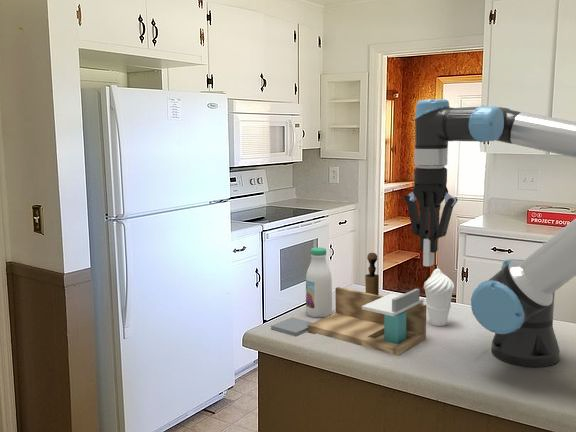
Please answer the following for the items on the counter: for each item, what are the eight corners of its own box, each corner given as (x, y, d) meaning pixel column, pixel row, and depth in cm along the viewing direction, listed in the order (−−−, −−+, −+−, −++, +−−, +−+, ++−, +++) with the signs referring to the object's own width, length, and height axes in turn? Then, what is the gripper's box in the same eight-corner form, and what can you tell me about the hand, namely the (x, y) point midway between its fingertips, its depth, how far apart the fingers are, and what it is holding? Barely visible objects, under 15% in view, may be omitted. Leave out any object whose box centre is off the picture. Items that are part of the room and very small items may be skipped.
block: (405, 341, 146) (406, 311, 145) (398, 346, 143) (398, 315, 142) (392, 338, 149) (392, 308, 148) (384, 342, 146) (384, 312, 145)
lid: (422, 327, 150) (423, 287, 148) (393, 344, 138) (393, 301, 137) (392, 320, 155) (393, 281, 154) (361, 336, 144) (361, 294, 142)
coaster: (316, 327, 160) (316, 323, 159) (296, 336, 153) (295, 332, 153) (292, 320, 165) (292, 317, 165) (271, 329, 159) (271, 325, 158)
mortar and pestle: (357, 309, 175) (357, 251, 172) (376, 306, 177) (377, 249, 174) (367, 315, 169) (367, 256, 166) (386, 313, 170) (387, 254, 168)
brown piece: (425, 340, 148) (426, 305, 147) (398, 357, 138) (398, 319, 136) (338, 318, 166) (337, 287, 165) (308, 331, 156) (307, 298, 154)
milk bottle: (332, 310, 174) (331, 245, 171) (331, 318, 167) (331, 251, 164) (307, 309, 175) (306, 245, 172) (305, 317, 167) (304, 251, 164)
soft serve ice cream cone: (459, 327, 157) (461, 270, 155) (434, 331, 154) (435, 274, 152) (441, 318, 165) (442, 264, 163) (416, 322, 162) (417, 267, 160)
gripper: (464, 166, 132) (461, 266, 136) (413, 165, 141) (411, 258, 144) (449, 168, 126) (447, 272, 130) (397, 166, 135) (396, 264, 139)
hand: (428, 264), depth 137 cm, fingers closed
